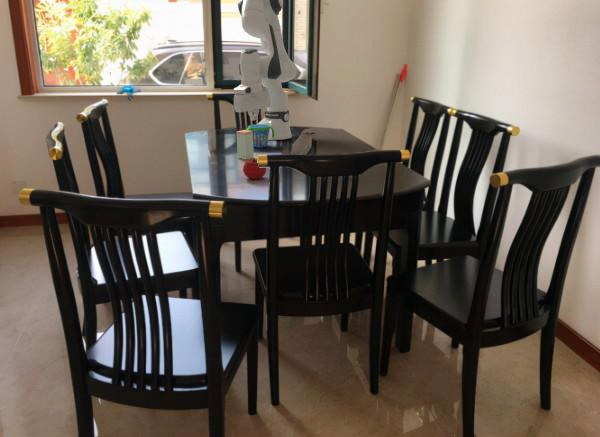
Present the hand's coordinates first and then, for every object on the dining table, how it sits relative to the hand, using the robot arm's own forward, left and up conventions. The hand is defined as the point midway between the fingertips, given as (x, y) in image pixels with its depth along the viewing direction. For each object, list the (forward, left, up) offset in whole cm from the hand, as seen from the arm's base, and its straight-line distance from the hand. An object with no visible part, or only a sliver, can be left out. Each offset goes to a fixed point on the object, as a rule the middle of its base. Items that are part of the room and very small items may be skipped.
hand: (254, 120), depth 226 cm
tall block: (0, -7, -16) cm, 17 cm away
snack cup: (-11, +15, -16) cm, 25 cm away
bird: (+27, -2, -16) cm, 32 cm away
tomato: (+26, -30, -16) cm, 43 cm away
